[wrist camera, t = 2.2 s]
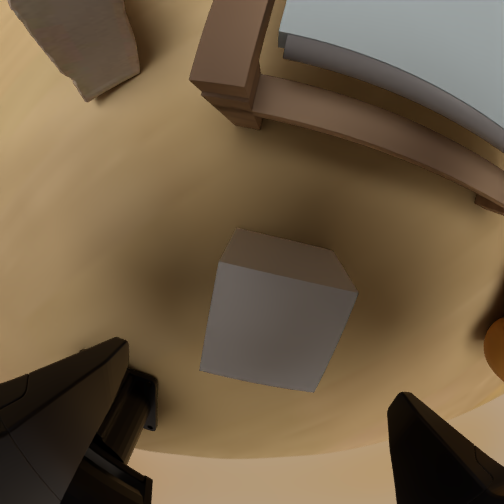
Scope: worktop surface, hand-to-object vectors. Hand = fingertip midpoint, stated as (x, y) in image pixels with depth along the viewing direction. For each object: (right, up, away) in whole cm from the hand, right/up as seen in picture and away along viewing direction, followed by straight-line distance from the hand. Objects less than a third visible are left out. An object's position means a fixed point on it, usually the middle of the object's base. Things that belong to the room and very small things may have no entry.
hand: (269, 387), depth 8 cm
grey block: (-9, +18, +3) cm, 21 cm away
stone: (+1, +2, +7) cm, 8 cm away
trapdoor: (+7, +13, -4) cm, 15 cm away
